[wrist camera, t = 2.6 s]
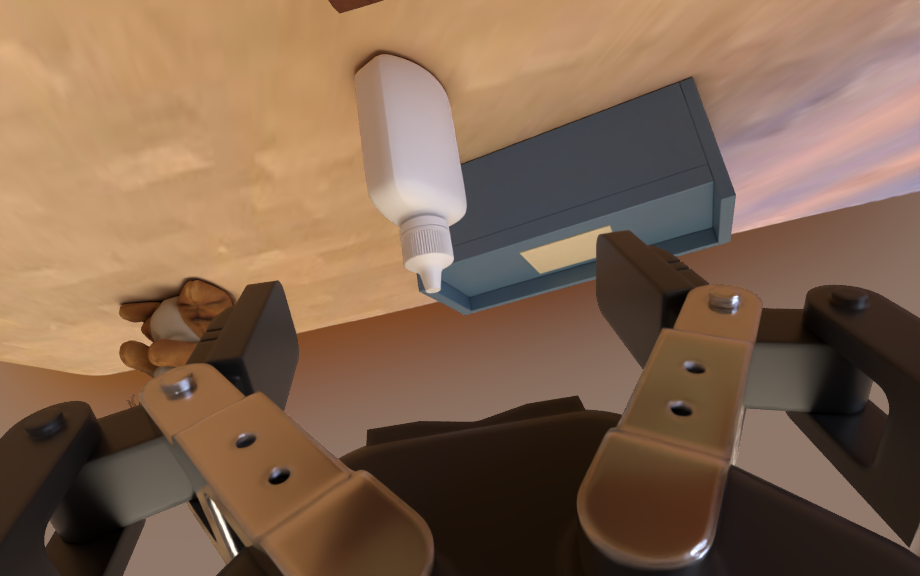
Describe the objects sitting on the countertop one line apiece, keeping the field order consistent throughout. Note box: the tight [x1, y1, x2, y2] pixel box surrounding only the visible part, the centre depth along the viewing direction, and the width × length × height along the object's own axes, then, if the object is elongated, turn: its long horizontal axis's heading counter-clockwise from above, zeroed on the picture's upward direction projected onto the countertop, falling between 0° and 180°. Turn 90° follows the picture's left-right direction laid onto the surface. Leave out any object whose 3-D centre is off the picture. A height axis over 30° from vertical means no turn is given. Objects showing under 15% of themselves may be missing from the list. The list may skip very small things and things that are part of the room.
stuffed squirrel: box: [119, 280, 233, 408], centre depth 53 cm, size 10×14×13 cm
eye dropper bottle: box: [354, 54, 467, 293], centre depth 27 cm, size 4×6×12 cm
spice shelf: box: [417, 78, 736, 315], centre depth 42 cm, size 20×16×8 cm
